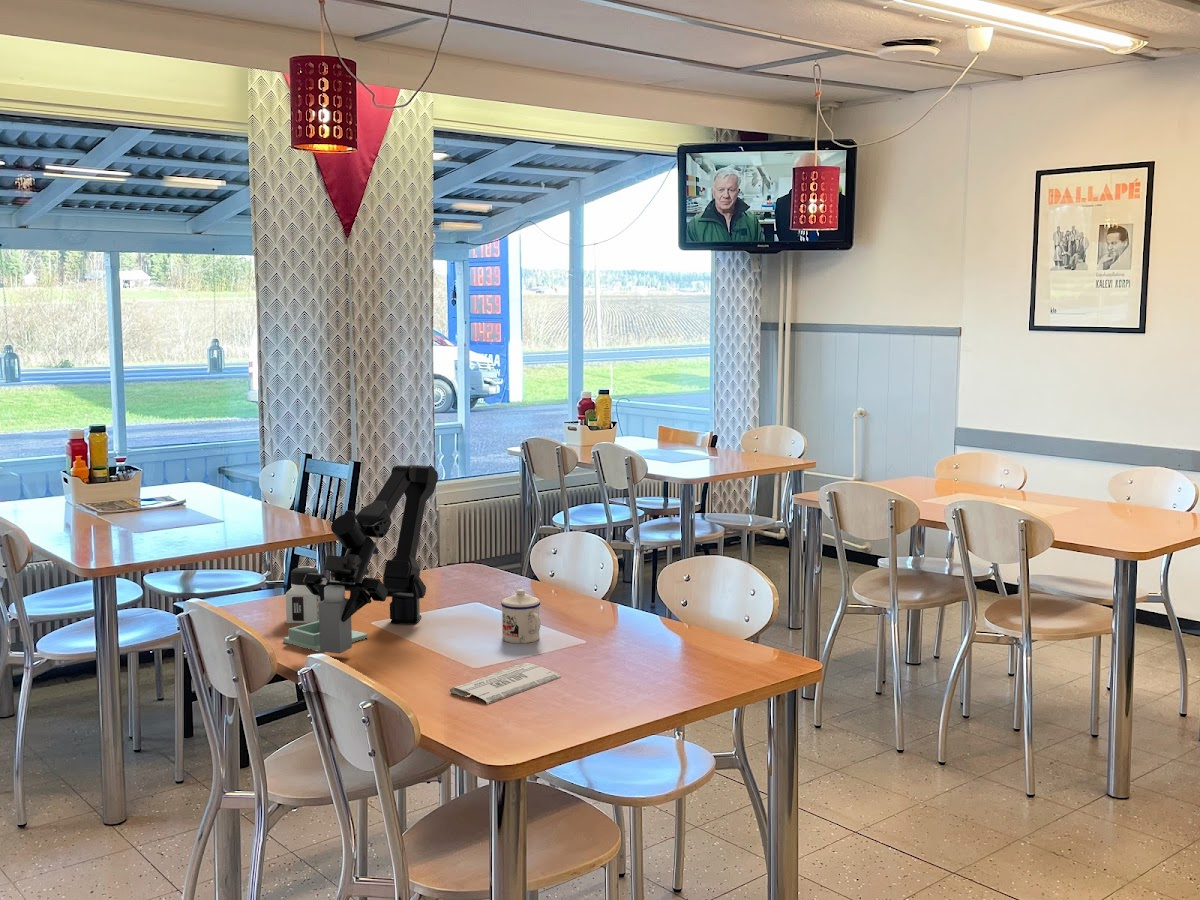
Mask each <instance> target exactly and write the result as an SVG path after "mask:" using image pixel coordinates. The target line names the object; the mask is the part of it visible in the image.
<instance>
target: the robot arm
mask: <svg viewBox="0 0 1200 900" xmlns="http://www.w3.org/2000/svg"><path fill="white" fill-rule="evenodd" d="M438 481H439V473H438V471H437V470H436V469H435V467H434V466H433V465H423V464H422V465H421V464H408V465H405V464H404V465H403V464H400V465H399V464H397V465H395V466H393V467H392V468H391V472H390V475H389V477H388V479H387V480H386V482H385V483H384V485H383V486H382V488H381V489H380V491H379V493H378V494H377V495H376V497H375V498H374V499H373V501H372V502H371V503H369V504H367V505H365V506H364V507H362V509H361V510H360V511H359V512H358V513H357V514H356V512H355V510H345V512H344V514H341V515H339V516H338V517H336V518H335V519H334V520H332V523H331V525H330V526H331V527H330V530H331V532H332V533H333V535H334V536H335V537H336V539H337V540H338V541H339V542H340V545H342V546H343V548H345V549H346V552H345V555H344V556H343V555H341V556H340V555H330V554H329V555H328V554H327V555H326V559H325V562H324V566H323V570H324V571H329V572H330V573H329V575H330V576H331V578H334V580H331V579H330V580H329V579H328V578H327V577H326V576H325V575H324V573H319V572H318V573H308V574H306V576H305V578H304V580H303V583H304V584H305V586H306V587H307V588H308V589H309V591H310V592H311V593H312V594H314V595H318V596H320V602H321V601H323V600H324V587H326V586H330V585H343V586H345V591H347V592H349V598H348V599H349V600H348V602H347V605H346V607H345V609H344V612H343V615H342V618H341V620H342V622H345V621H346V620H347V619H348V618H350V617H351V618H352V616H354V614H355V613H356V612H358V611H360V609H362V608H363V607H365V605H368V604H372V600H373V601H374V602H385V601H387V600H386V599H387V598H389V597H391V601H390V603H389V619H390V624H400V625H406V624H407V625H408V624H409V625H417V624H418V623H419V621H420V620H421V619H420V618H422V615H421V614H420V613H421V612H420V608H421V605H420V599H424V598H425V596H426V591H427V587H426V585H425V583H424V582H423V580H422V579H421V577H420V575H421V569H420V567H419V564H418V562H417V559H416V557H417V553H418V546H419V542H420V541H419V540H420V536H421V531H422V525H423V519H424V514H425V507H426V502H427V501H428V500H429V499H430V497H431V496H432V495H433V494H434V493H435V490H436V486H437V483H438ZM403 495H404V496H405V502H404V507H403V514H402V519H401V525H400V530H399V534H398V540H397V547H396V551H395V555H394V556H393V557H392V559H387V561H386V562H385V567H384V573H383V574H382V581H381V578H378V577H367V576H368V575H369V572H370V570H369V569H368V566H369V565H370V562H371V560H372V557H373V555H378V554H379V547H378V546H377V542H376V541H374V539H373V538H377V539H381V538H382V539H383V538H385V537H386V535H387V533H389V530H390V527H391V525H392V518H391V515H392V513H393V511H394V510H395V508H396V506H397V505H398V503H399V502H400V500H401V499H402V496H403ZM365 576H366V577H365ZM371 599H372V600H371Z"/></svg>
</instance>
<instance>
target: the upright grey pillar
mask: <svg viewBox="0 0 1200 900" xmlns="http://www.w3.org/2000/svg"><path fill="white" fill-rule="evenodd" d="M348 600H349V598H346V592H345V586H343V585H330V586H326V587H324V600H323V601H321V602H319V631H320V651H321V652H320V653H331V654H342V653H344V652H346V651H348V650H349V649H352V648H353V643H352V630H353V629H352V616H351V617H350V618H348V619H347V620H346V621H345V622H342V620H341V618H342V615H343V612H344V609H345V607H346V605H347V602H348Z"/></svg>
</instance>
